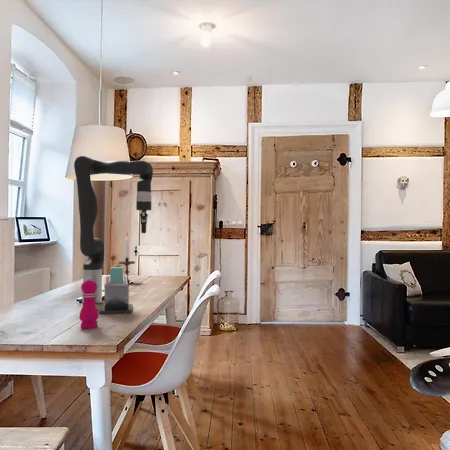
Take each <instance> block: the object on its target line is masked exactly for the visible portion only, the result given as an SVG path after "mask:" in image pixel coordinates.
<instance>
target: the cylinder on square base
mask: <svg viewBox="0 0 450 450" xmlns="http://www.w3.org/2000/svg"><path fill="white" fill-rule="evenodd" d="M129 285H130V284H127V275H126V274H123V283H110V274H107V275H106V276H105V284H104V304H102V306H101V307H100V309H99V310H98V314H99V315H115V314H116V315H119V314H123V315H124V314H132V312H133V311H132V310H133V307H134V305H133V304H132V303H129V301H130V296H129V295H130V292H129V291H130V287H129Z"/></svg>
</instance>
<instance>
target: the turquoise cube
mask: <svg viewBox="0 0 450 450" xmlns="http://www.w3.org/2000/svg"><path fill="white" fill-rule="evenodd" d="M109 270H110V271H109V272H110V274H109V275H110V283H123V281H124V266H111V267H110V269H109Z"/></svg>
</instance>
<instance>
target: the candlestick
mask: <svg viewBox="0 0 450 450" xmlns="http://www.w3.org/2000/svg"><path fill="white" fill-rule="evenodd" d="M128 234H129V233H128V232H126V238H125V260H124V261H122V260H121V261H119V262H118V265H119V264H120V265H124V266H125V271H124V274H125V275H127V283H129V282H130V281H131V280H129V273H130V271H129V266H130V265H132V264H133V265H134V264H136V261H134V260H129V259H130V257H129V245H130V244H129V237H128V236H129V235H128Z"/></svg>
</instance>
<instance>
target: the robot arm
mask: <svg viewBox="0 0 450 450" xmlns="http://www.w3.org/2000/svg"><path fill="white" fill-rule="evenodd" d="M73 168H74V174H75V178H76V186H77V187H76V189H77V199H78V201H77V202H78V212H79V213H78V215H79V227H80V230H79V231H80V233H79V246H80V247H79V250H80V253H82V255H83V256H85V257H88V258H87V260H86V261H85V262H84V263H83V266H82V271H83V274H82V283H83V282H85V281H88V280H87V277H89V276H90V277H91V278H92V279H91V280H92V281H95V282H96V284H97V290H96V291H95V293H96V296H95V304H101V303H102V302H103V292H102V291H103V264H104V260H105V259H104V258H105V244H104V242H103V240H102V239H101V238H99V237H94V226H95V222H96V220H97V217H98V212H99V210H98V209H99V208H98V207H99V206H98V198H97V195H96V193H95V190H94V188H93V186H92V181H91V176H93V175H101V174H102V175H103V174H104V175H105V174H108V175H109V174H110V175H123V176H124V175H129V176H130V175H139V180H137V183H136V199H135V200H136V202H135V204H136V205H135V206H136V207H135V209H136V211H140V213H139V221H140V231H141V234H146V233H147V223H148V218H149V215H148V213H147V212H148V211H152V181H153V176H154V175H153V174H154V171H153V170H154V169H153V165H152V164H151V163H150V162H147V161H145V160H131V161H130V160H112V161H103V160H102V161H101V160H97V159H94V158H91V157H88V156H86V155H79V156H77V157H76V158H75V160H74V164H73ZM81 292H82V293H81V294H82V298H81V299H82V301H81V303H82V304H83V303H84V297H83V293H84V292H83V291H82V290H81Z"/></svg>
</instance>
